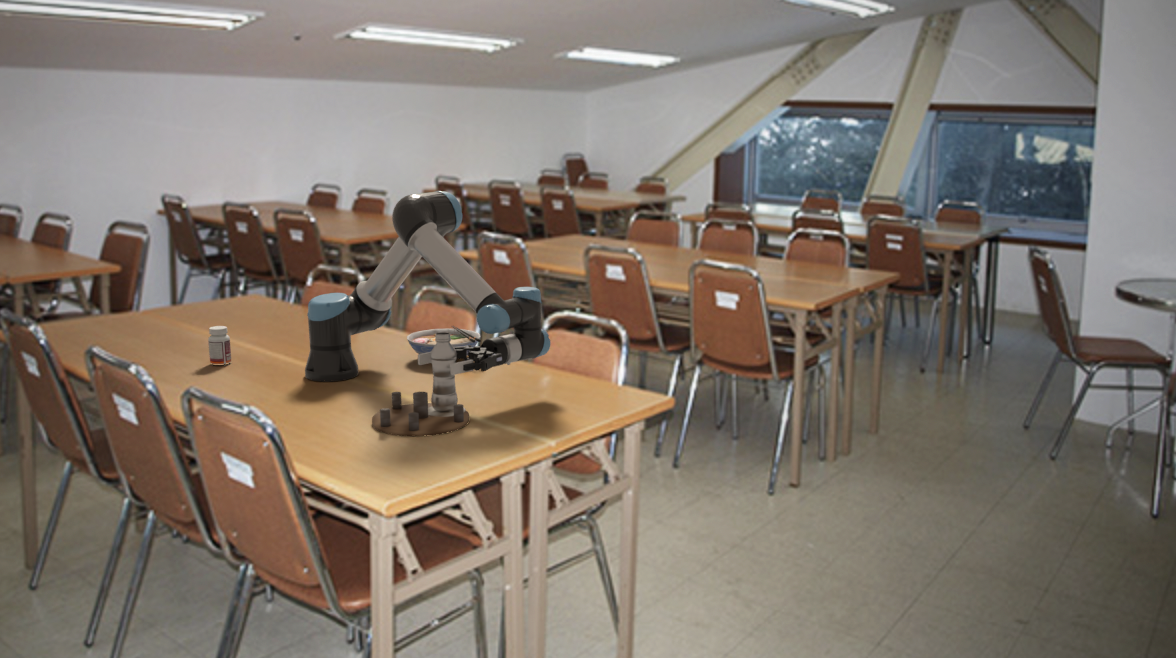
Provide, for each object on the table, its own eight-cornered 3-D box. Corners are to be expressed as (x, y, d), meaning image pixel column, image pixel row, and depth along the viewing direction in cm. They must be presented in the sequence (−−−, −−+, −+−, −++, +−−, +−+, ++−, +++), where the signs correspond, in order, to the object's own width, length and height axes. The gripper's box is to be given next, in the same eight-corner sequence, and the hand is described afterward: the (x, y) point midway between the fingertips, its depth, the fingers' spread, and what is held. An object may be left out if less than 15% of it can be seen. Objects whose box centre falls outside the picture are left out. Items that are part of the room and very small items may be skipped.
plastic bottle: (432, 407, 264) (429, 331, 259) (458, 406, 264) (456, 330, 260) (430, 414, 257) (428, 336, 253) (457, 413, 258) (455, 336, 254)
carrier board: (362, 436, 244) (361, 407, 242) (382, 407, 267) (381, 380, 266) (463, 436, 244) (462, 407, 242) (474, 407, 267) (473, 381, 266)
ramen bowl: (398, 353, 325) (397, 328, 323) (468, 347, 334) (467, 322, 332) (418, 372, 303) (417, 345, 301) (491, 365, 311) (491, 338, 310)
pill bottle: (227, 360, 316) (224, 324, 313) (234, 364, 311) (232, 327, 309) (207, 363, 312) (204, 327, 309) (214, 367, 307) (211, 330, 305)
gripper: (531, 373, 263) (466, 388, 248) (470, 356, 280) (406, 370, 265) (531, 344, 261) (465, 358, 247) (470, 329, 278) (405, 341, 264)
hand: (434, 364), depth 256 cm, fingers open, 13 cm apart
